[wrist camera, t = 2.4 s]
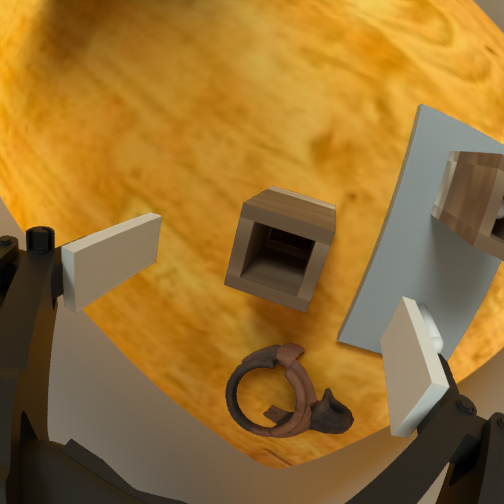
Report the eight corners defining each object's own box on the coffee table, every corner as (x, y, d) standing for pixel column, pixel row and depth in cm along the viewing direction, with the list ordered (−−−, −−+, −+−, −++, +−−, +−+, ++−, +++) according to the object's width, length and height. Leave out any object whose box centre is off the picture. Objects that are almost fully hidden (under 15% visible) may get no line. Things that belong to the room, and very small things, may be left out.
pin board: (417, 105, 19) (448, 90, 12) (525, 162, 17) (573, 171, 11) (338, 333, 26) (335, 385, 20) (438, 362, 24) (454, 412, 18)
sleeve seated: (450, 150, 18) (501, 153, 11) (500, 176, 17) (560, 193, 10) (430, 214, 20) (472, 246, 13) (481, 236, 19) (531, 274, 12)
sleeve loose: (273, 185, 24) (243, 202, 16) (335, 205, 23) (335, 231, 15) (257, 244, 25) (223, 284, 18) (315, 264, 25) (305, 312, 17)
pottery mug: (247, 405, 33) (207, 425, 25) (268, 329, 33) (230, 332, 26) (347, 439, 27) (330, 474, 20) (375, 357, 28) (368, 373, 20)
